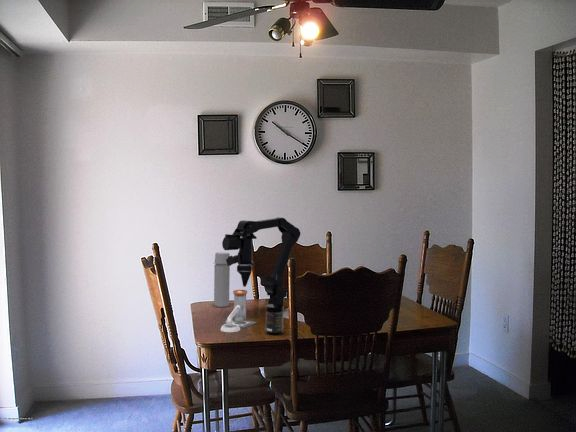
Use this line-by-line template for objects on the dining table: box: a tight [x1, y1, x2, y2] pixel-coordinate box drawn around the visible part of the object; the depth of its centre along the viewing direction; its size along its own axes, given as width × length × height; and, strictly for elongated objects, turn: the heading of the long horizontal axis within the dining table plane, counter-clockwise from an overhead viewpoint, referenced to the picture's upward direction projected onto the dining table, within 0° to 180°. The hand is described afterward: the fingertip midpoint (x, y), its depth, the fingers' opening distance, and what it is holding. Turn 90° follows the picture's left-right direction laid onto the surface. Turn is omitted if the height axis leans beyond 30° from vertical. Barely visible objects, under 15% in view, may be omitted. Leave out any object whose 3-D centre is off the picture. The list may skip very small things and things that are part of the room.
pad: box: [222, 319, 258, 329], centre depth 215 cm, size 10×10×1 cm
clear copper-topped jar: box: [232, 289, 248, 324], centre depth 215 cm, size 6×6×13 cm
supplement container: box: [265, 304, 284, 336], centre depth 202 cm, size 7×7×10 cm
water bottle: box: [213, 251, 231, 308], centre depth 250 cm, size 9×8×25 cm
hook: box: [220, 305, 241, 333], centre depth 205 cm, size 8×12×7 cm
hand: (245, 284), depth 232 cm, fingers open, 9 cm apart
